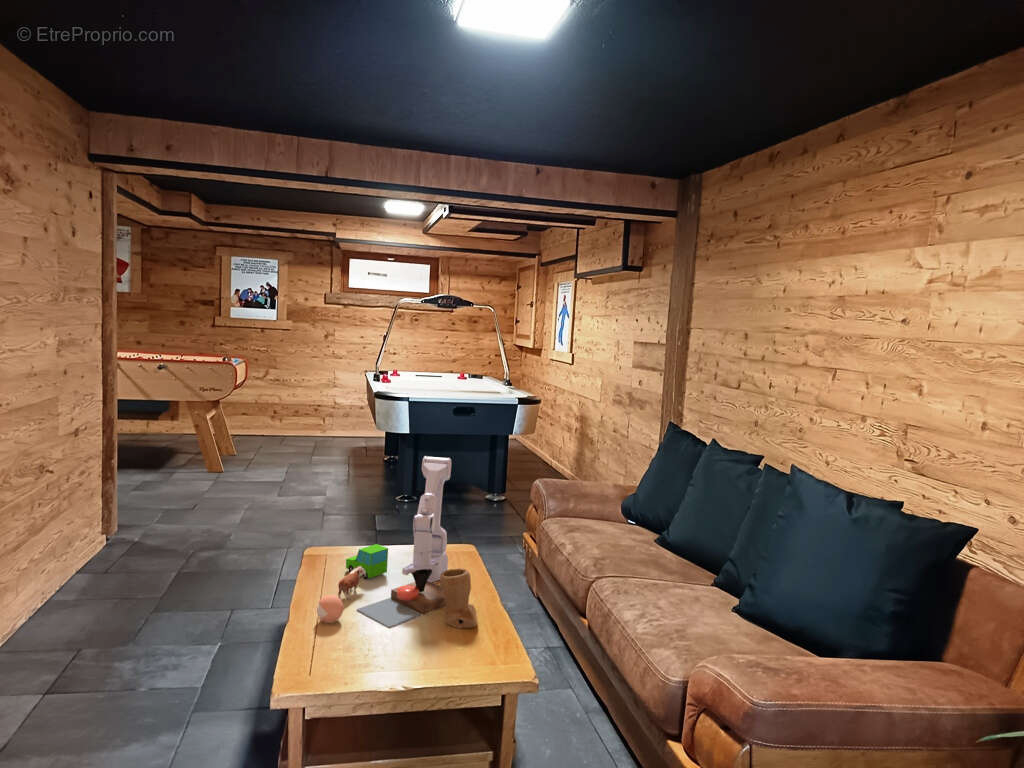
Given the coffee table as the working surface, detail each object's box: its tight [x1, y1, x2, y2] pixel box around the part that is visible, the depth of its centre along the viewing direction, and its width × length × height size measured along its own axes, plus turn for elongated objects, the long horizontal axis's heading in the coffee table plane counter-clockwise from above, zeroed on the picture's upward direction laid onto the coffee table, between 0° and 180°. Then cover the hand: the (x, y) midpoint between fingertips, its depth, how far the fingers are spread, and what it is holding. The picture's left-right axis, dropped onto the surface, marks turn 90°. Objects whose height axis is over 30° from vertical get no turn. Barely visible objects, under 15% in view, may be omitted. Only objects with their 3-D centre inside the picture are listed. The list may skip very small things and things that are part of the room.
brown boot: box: [440, 568, 478, 629], centre depth 200 cm, size 15×12×15 cm
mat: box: [356, 597, 423, 629], centre depth 202 cm, size 13×16×1 cm
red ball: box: [396, 584, 419, 601], centre depth 208 cm, size 7×7×2 cm
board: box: [390, 581, 447, 616], centre depth 213 cm, size 14×16×3 cm
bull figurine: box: [337, 566, 366, 600], centre depth 213 cm, size 4×13×8 cm, turn 161°
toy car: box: [345, 543, 389, 580], centre depth 232 cm, size 10×13×10 cm
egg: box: [316, 594, 344, 624], centre depth 193 cm, size 8×8×8 cm
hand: (420, 590), depth 211 cm, fingers closed
